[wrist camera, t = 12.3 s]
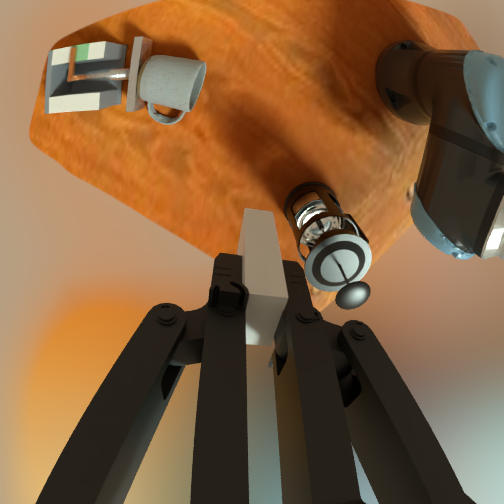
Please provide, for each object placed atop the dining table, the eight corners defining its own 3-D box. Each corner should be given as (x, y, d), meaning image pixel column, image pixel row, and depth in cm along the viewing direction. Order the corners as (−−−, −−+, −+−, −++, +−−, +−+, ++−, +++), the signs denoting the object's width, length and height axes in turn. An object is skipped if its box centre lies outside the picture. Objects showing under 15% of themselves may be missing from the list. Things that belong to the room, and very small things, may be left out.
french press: (276, 227, 51) (298, 326, 32) (285, 177, 46) (320, 260, 27) (337, 233, 52) (384, 325, 33) (350, 187, 47) (416, 267, 28)
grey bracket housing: (127, 45, 31) (108, 40, 25) (120, 104, 37) (101, 109, 31) (72, 51, 30) (47, 51, 24) (67, 106, 35) (43, 114, 29)
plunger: (153, 40, 31) (136, 34, 25) (144, 107, 37) (127, 113, 31) (81, 46, 29) (57, 44, 23) (75, 109, 35) (52, 117, 29)
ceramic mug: (157, 54, 33) (141, 51, 27) (209, 63, 35) (202, 60, 28) (142, 118, 39) (124, 127, 32) (191, 127, 40) (182, 137, 34)
